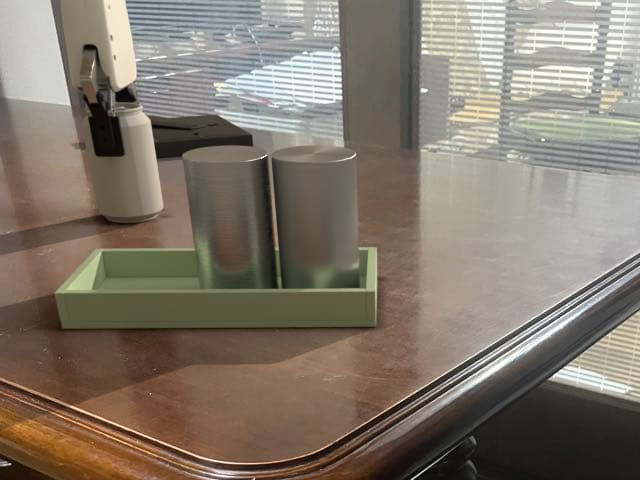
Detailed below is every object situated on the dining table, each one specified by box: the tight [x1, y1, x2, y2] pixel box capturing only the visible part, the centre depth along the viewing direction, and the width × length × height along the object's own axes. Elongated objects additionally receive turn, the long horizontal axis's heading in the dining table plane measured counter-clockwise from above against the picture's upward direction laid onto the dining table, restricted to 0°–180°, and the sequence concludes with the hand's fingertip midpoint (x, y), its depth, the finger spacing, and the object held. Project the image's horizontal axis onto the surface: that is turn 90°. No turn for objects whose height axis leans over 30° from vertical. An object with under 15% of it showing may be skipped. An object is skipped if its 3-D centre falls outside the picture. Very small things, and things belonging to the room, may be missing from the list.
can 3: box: [270, 144, 360, 289], centre depth 76 cm, size 7×7×12 cm
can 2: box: [181, 146, 279, 289], centre depth 76 cm, size 7×7×12 cm
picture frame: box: [146, 114, 254, 159], centre depth 141 cm, size 16×3×21 cm
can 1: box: [81, 102, 164, 224], centre depth 100 cm, size 8×8×12 cm
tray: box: [53, 246, 378, 330], centre depth 79 cm, size 27×13×3 cm, turn 91°
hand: (121, 147), depth 100 cm, fingers open, 8 cm apart
